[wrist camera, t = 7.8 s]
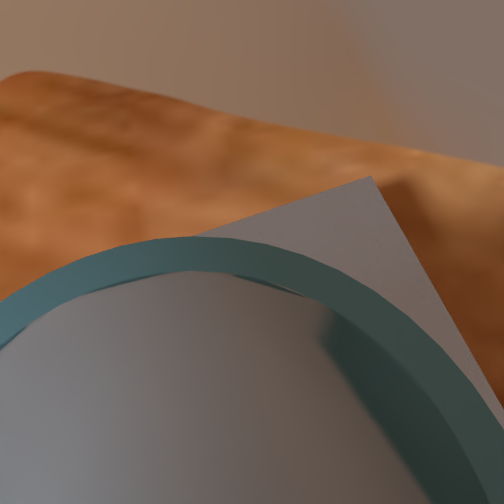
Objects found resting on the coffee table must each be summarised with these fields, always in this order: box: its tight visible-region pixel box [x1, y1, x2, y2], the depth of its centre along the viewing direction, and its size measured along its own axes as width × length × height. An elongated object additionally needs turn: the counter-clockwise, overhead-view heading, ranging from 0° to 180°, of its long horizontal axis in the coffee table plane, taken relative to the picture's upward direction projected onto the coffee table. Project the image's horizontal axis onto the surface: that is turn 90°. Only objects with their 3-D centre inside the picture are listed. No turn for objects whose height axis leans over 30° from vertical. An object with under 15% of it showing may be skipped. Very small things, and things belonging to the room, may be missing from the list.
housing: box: [0, 176, 504, 430], centre depth 16 cm, size 18×18×3 cm
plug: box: [0, 236, 504, 504], centre depth 8 cm, size 5×5×13 cm
